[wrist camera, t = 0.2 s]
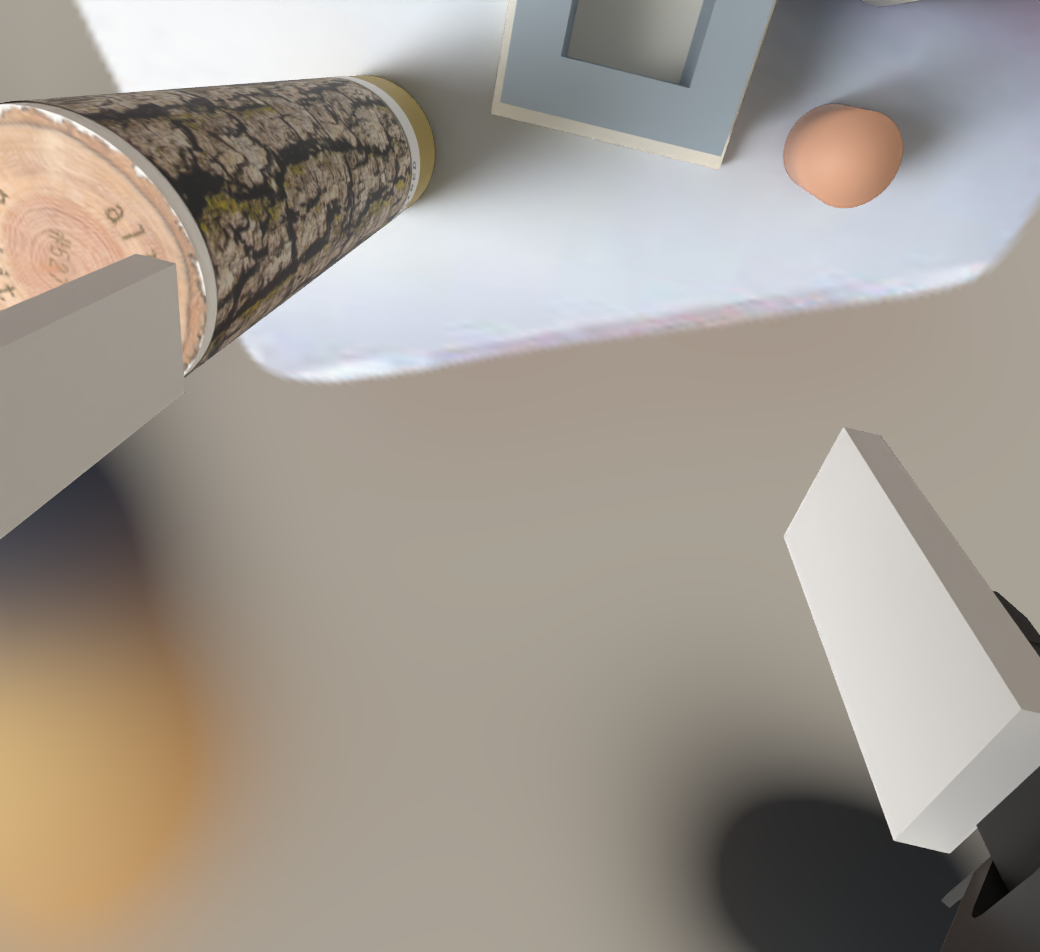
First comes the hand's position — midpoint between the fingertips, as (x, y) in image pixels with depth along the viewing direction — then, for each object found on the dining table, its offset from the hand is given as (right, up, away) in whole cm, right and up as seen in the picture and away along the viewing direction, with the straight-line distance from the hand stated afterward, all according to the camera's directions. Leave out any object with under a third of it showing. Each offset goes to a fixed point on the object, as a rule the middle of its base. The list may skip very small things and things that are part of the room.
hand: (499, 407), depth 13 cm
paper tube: (-7, +17, +24) cm, 30 cm away
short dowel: (+16, +15, +21) cm, 31 cm away
